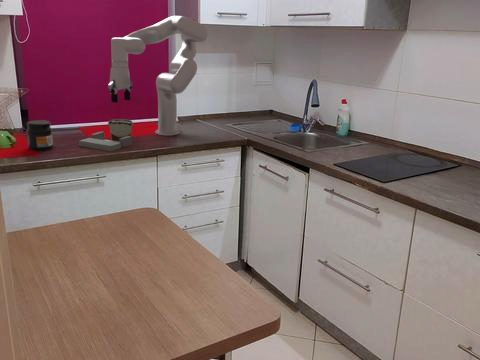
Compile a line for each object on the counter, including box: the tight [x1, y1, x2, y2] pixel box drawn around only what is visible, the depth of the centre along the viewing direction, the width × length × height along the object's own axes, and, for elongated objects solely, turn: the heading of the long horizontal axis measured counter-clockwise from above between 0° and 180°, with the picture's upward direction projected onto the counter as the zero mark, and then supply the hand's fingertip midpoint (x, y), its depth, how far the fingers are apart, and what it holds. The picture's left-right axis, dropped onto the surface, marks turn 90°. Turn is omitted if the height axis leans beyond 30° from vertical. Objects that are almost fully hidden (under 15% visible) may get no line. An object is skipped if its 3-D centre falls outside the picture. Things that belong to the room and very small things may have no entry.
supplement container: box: [26, 119, 54, 152], centre depth 213 cm, size 10×10×12 cm
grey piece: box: [78, 131, 133, 152], centre depth 224 cm, size 16×18×4 cm
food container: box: [107, 118, 134, 142], centre depth 234 cm, size 12×6×10 cm, turn 84°
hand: (121, 101), depth 230 cm, fingers open, 9 cm apart
